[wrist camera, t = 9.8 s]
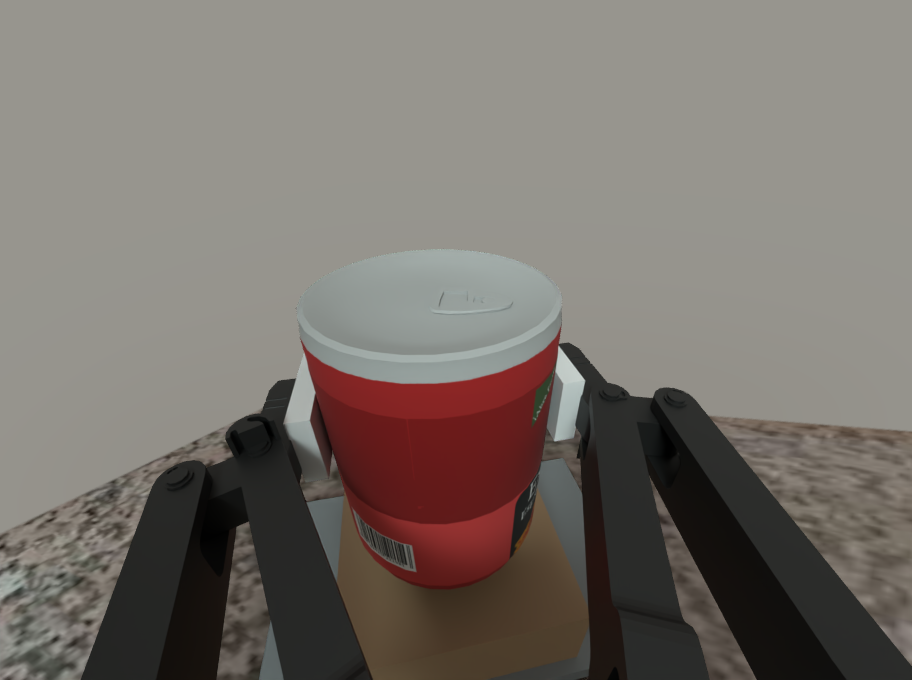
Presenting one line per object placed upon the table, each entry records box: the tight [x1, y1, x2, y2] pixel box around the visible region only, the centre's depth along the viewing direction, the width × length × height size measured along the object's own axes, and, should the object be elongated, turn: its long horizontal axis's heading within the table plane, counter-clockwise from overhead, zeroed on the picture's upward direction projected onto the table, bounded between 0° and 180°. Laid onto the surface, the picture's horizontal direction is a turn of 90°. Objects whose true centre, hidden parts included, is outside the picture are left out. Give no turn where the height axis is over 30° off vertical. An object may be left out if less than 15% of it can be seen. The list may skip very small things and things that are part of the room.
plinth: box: [259, 458, 590, 680], centre depth 19 cm, size 18×11×5 cm, turn 100°
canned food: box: [296, 250, 562, 590], centre depth 14 cm, size 8×8×11 cm
